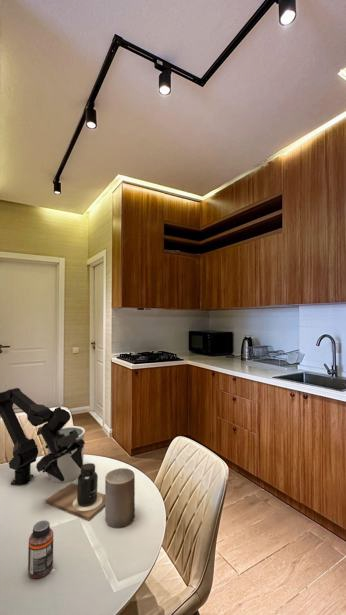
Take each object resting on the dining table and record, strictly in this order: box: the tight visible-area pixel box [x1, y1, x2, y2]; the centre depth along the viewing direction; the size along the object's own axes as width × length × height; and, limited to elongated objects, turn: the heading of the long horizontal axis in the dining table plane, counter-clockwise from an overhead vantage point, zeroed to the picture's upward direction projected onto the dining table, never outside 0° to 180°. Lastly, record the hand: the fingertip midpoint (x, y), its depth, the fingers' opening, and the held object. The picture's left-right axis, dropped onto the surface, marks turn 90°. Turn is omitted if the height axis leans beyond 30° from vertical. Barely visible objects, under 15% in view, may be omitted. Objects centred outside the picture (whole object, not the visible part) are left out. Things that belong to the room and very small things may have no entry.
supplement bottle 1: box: [27, 519, 54, 579], centre depth 76 cm, size 6×6×11 cm
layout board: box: [45, 482, 105, 522], centre depth 104 cm, size 20×12×1 cm, turn 64°
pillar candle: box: [104, 467, 136, 529], centre depth 96 cm, size 10×10×15 cm
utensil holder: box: [47, 425, 86, 484], centre depth 122 cm, size 15×15×18 cm
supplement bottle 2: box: [77, 462, 99, 507], centre depth 102 cm, size 7×7×12 cm
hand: (73, 474), depth 105 cm, fingers open, 9 cm apart
